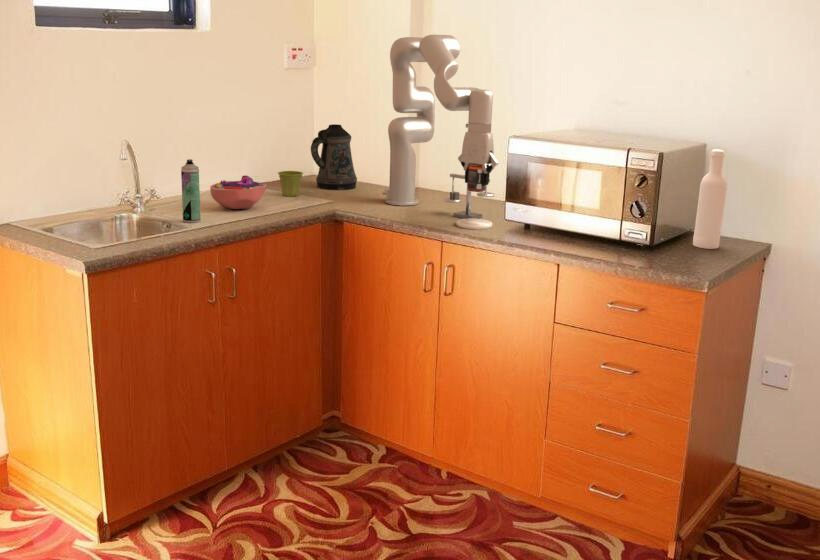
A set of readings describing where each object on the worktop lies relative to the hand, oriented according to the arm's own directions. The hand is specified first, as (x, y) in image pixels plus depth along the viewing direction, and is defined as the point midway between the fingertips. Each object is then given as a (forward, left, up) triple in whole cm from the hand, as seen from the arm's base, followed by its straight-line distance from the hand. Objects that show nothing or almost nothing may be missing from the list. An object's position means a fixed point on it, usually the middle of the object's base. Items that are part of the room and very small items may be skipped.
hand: (476, 183), depth 284 cm
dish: (0, 0, -14) cm, 14 cm away
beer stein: (-82, +17, -15) cm, 85 cm away
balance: (-10, +10, -14) cm, 20 cm away
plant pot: (-80, -9, -15) cm, 82 cm away
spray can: (-66, -65, -14) cm, 94 cm away
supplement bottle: (0, 0, -3) cm, 3 cm away
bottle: (+67, +31, -14) cm, 75 cm away
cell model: (-73, -40, -15) cm, 85 cm away
